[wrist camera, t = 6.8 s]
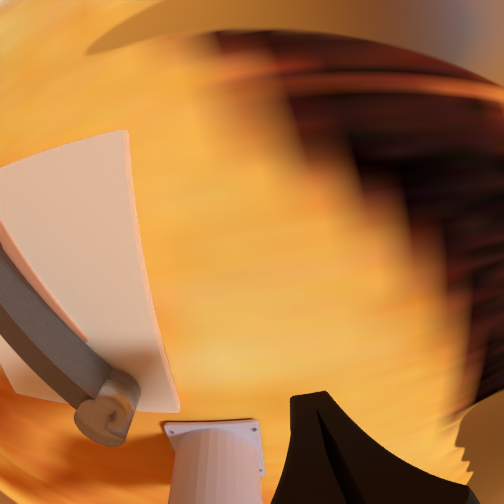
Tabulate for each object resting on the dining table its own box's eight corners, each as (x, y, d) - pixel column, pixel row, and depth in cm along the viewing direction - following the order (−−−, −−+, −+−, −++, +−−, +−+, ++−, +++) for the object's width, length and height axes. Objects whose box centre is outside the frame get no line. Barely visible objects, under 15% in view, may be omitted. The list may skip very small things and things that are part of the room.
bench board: (180, 404, 21) (178, 414, 20) (20, 387, 20) (14, 394, 19) (128, 131, 16) (121, 128, 14) (-40, 189, 15) (-49, 190, 14)
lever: (150, 391, 19) (135, 436, 14) (125, 409, 19) (108, 452, 15) (-9, 222, 15) (-51, 236, 10) (-23, 254, 15) (-60, 272, 11)
